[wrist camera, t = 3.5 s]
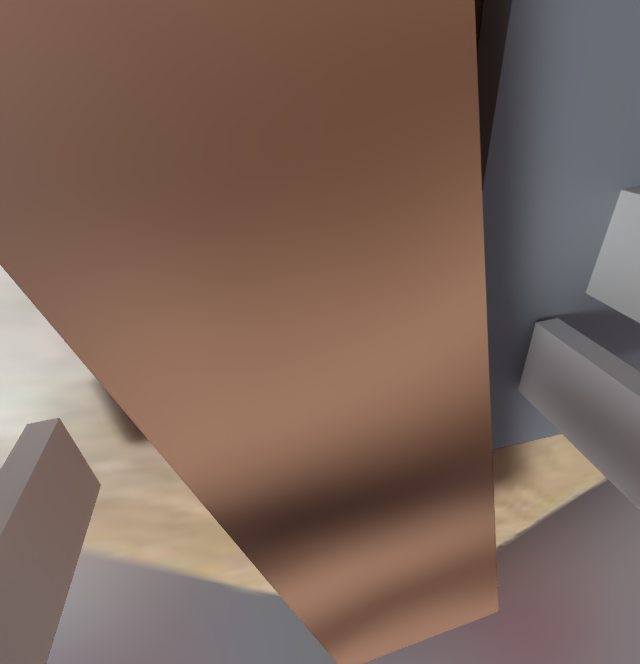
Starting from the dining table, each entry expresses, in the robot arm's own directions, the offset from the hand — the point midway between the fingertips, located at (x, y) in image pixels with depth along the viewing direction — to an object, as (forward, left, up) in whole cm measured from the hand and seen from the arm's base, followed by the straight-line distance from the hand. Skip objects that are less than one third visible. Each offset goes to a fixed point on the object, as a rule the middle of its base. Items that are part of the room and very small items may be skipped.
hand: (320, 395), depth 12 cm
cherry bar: (-1, 0, -1) cm, 1 cm away
